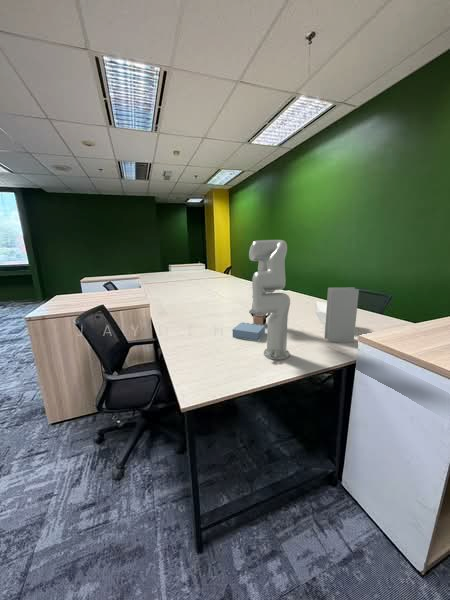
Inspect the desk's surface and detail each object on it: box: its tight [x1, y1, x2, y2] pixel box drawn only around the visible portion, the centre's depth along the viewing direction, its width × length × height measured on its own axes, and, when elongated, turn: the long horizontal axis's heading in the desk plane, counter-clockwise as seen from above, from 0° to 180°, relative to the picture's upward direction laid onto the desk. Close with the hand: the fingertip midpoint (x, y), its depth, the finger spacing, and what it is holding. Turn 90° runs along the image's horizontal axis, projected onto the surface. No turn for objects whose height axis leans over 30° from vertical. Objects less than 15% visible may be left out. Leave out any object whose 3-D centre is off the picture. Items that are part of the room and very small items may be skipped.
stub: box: [252, 315, 265, 325], centre depth 167 cm, size 9×6×6 cm, turn 154°
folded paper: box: [314, 300, 327, 325], centre depth 160 cm, size 17×24×17 cm
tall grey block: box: [323, 287, 360, 343], centre depth 135 cm, size 14×6×30 cm, turn 84°
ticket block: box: [232, 322, 266, 342], centre depth 148 cm, size 15×16×5 cm
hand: (259, 323), depth 167 cm, fingers closed on stub, 6 cm apart
